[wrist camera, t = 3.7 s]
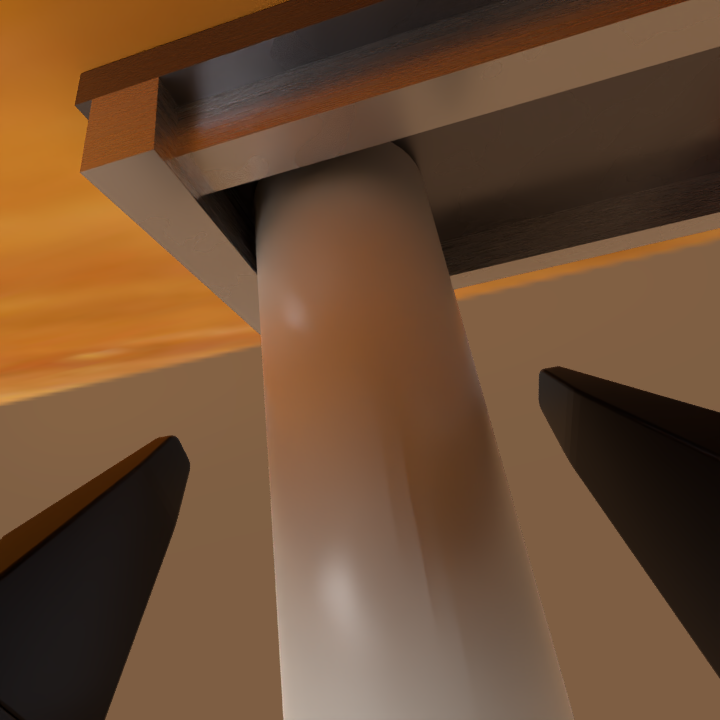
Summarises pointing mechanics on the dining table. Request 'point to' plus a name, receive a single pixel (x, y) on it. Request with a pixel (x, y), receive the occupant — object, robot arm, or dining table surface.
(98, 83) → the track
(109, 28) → the dining table surface
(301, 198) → the white cylinder
